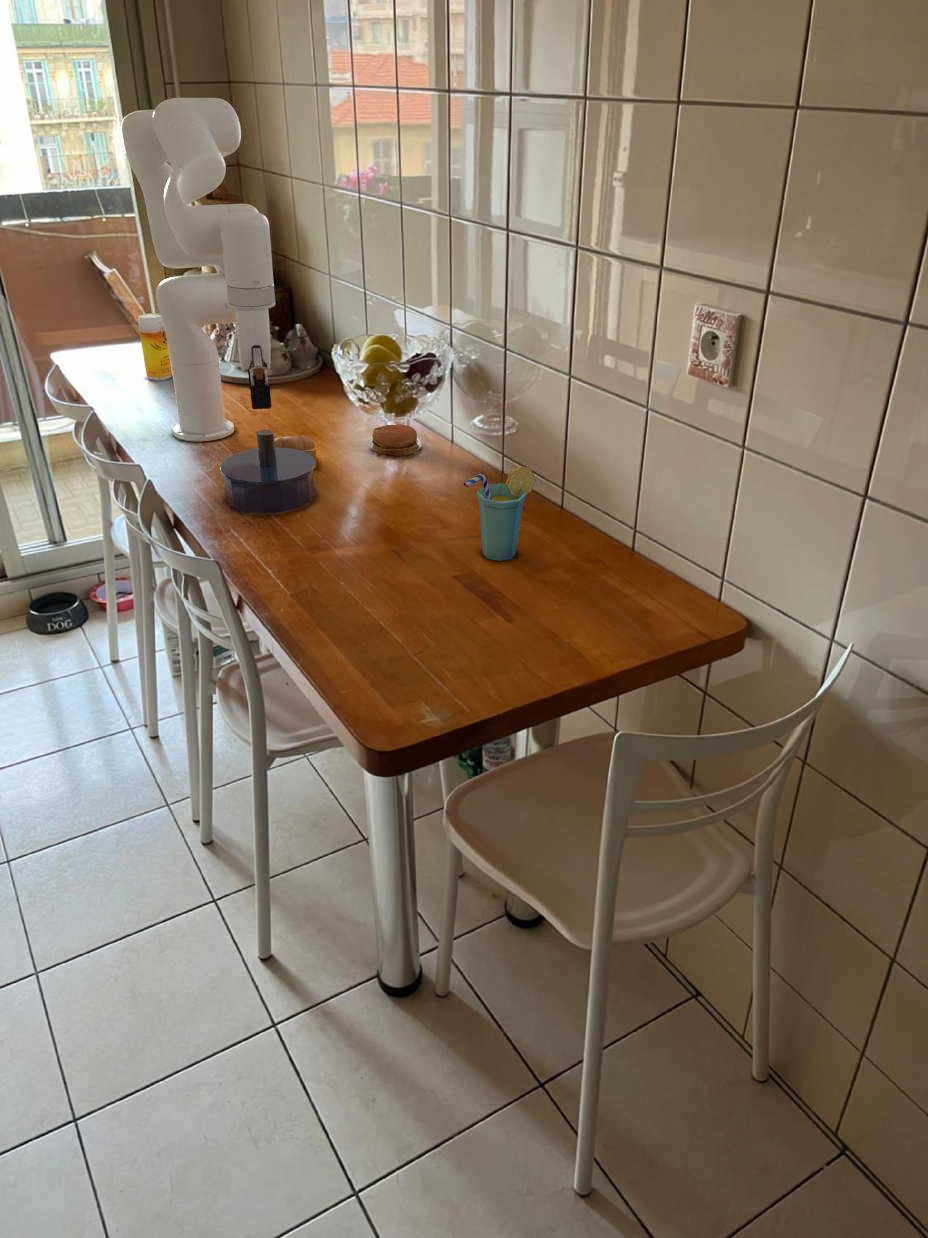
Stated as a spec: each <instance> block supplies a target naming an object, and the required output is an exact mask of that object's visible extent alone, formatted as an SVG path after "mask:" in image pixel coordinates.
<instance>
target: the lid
mask: <svg viewBox="0 0 928 1238" xmlns="http://www.w3.org/2000/svg"><path fill="white" fill-rule="evenodd" d="M255 436H256V445H257V448H251V449H247V450H243V451H239V452H236V453H233V454H231V455H229V456H228V457H226V458H225V459H223V460H222V461H221V463H220V465H219V469H220V470H219V471H220V474H221V475H222V476H223V478H224V477H225V478H227V479H229V480H231V481H234V482H238V483H243V484H250V485H273V484H281V483H287V482H291V481H295V480H298V479H300V478H303V477H305V476H307V475H308V474H310V473H311V472H312V471H313V472H314V470H315V469H316V467H315V460H314V458H313V457H312V456H311V455H309V454H308V453H305V452H303V451H300V450H296V449H290V448H279V447H275V442H274V439H275V433H274V430H271V429H260V430H257V431H256V432H255Z"/></svg>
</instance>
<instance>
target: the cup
mask: <svg viewBox="0 0 928 1238" xmlns="http://www.w3.org/2000/svg"><path fill="white" fill-rule="evenodd" d="M479 481H481V484H482V485H481V486H482V487H481V488H480V489H479V490H478V491H477V492H476V498H477V500H478V505H479V518H480V519H479V521H480V535H481V550H482V554H483V555H484V556H485V557H486V559H488V560H493V561H497V562H500V561H507V560H511V559H512V558H513V557H514V556H515V555H516V553H517V548H518V547H517V546H518V541H519V533H520V526H521V519H522V513H523V506H524V502H525V501H526V498H527V495H529V494H531V493H532V491H533V489H534V486H535V484H536V477H535V475H534V472H533V469H531V468H528V467H525V466H521V465H519V466H517V467H516V468H514V469H513V470H511V471H509V473H508V476H507V478H506V481H505V483H503V482H500V483H491V484H489V483H488V480H487V478H486V476H485V475H484V474H481V473H478V474H476V475H475V476H473V477H471V478H469V479H468V480H466V481H464V482H463V485H464V487H465V488H469V487H471V486H472V485H473V484H475V483H478V482H479Z"/></svg>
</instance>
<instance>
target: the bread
mask: <svg viewBox="0 0 928 1238" xmlns="http://www.w3.org/2000/svg"><path fill="white" fill-rule="evenodd" d="M274 442H275V447H279V448H290V449H296V450H300V451H303V452H305V453H308V454H309V455H311V456H312V457H313V458H314V460H315V468H317V467H318V462H317V451H316V444H315V442H314V440H313V439H311V437H309V436H307V435H290V436H289V435H288V436H278V437H274Z"/></svg>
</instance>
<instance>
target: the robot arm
mask: <svg viewBox="0 0 928 1238" xmlns="http://www.w3.org/2000/svg"><path fill="white" fill-rule="evenodd" d="M241 128H242V127H241V123H240V120H239V116H238V115H237V112H236V110H235V109H234V107H233V106H232V104H230V103H229V102H228V101H227V100H225V99H223V98H219V97H173V98H168V99H165V100H163V101H161V102H160V103H159V104H157V106H156V107H155V109H144V110H136V111H133V112H131V113H129V114H127V115H125V116H124V117H123V119H122V121H121V125H120V131H121V132H120V133H121V141H122V146H123V150H124V153H125V156H126V158H127V161H128V164H129V167H130V168H131V170H132V171H133V174H134V176H135V178H136V180H137V182H138V184H139V187H140V189H141V191H142V195H143V198H144V204H145V208H146V215H147V219H148V225H149V230H150V234H151V235H150V236H151V241H152V244H153V249H154V252H155V255H156V258H157V260H158V261H159V263H160V265H162V266H163V267H165V268H169V269H190V268H191V269H193V268H201V267H202V268H203V267H212V268H214V270H215V272H213V273H212V272H211V273H202V274H201V273H200V274H199V273H198V274H187V275H177V276H176V275H175V276H171V277H168V278H166V279H163V280H162V281H161V282H159V284H158V286H157V287H156V292H155V299H156V306H157V309H158V311H159V312H158V313H159V314H160V315H161V318H162V322H163V325H164V329H165V333H166V338H167V343H168V349H169V356H170V363H171V370H172V374H171V376H172V382H173V387H174V389H173V390H174V394H175V401H176V402H175V403H176V408H177V415H178V420H179V422H178V423H176V424H175V425H173V427H172V434H173V436H174V437H176V438H177V439H179V440H182V441H185V442H210V441H212V442H213V441H217V440H221V439H224V438H227V437H229V436H231V435H232V434H233V433H234V432H235V424H234V422H232V421H231V420H228V419H226V409H225V402H224V401H225V400H224V394H223V392H224V391H223V384H222V376H221V368H220V360H219V353H218V348H217V345H216V343H215V342H214V340H213V339H212V337H210V336H209V335H208V334H207V333H206V332H204V330H203V327H205V326H209V325H219V324H227V323H234V322H235V330H236V338H237V349H238V358H239V366H240V370H241V371H242V372H246V371H247V374H248V383H249V391H250V392H249V393H250V403H251V408H252V410H270V409H271V408H272V397H271V395H272V394H271V385H270V383H269V377H268V371H269V370H270V369H271V361H272V360H271V359H272V358H271V354H272V351H271V350H272V349H271V348H272V347H271V328H270V313H269V309H272V308H274V307H275V306H276V295H275V284H274V270H273V269H274V268H273V257H272V245H271V244H272V243H271V242H272V241H271V230H270V223H269V219H268V218H267V217H266V215H264V213H260V212H259V210H258V209H257V208H256V207H255V206H253V205H251V204H248V203H229V204H228V203H226V204H225V203H224V204H223V203H222V204H221V203H220V204H201V205H200V204H199V205H192V203H193V202H196V201H197V200H200V199H202V198H203V197H205V196H206V195H208V194H211V193H212V192H213V191H215V190H216V189H217V188H218V187H219V186H220V185H221V184H222V183H223V181H224V179H225V176H226V170H227V168H226V161H225V157H228V156H230V155H231V154H233V153H235V152H236V151H237V150H238V148H239V147H240V144H241V139H242V130H241Z"/></svg>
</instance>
